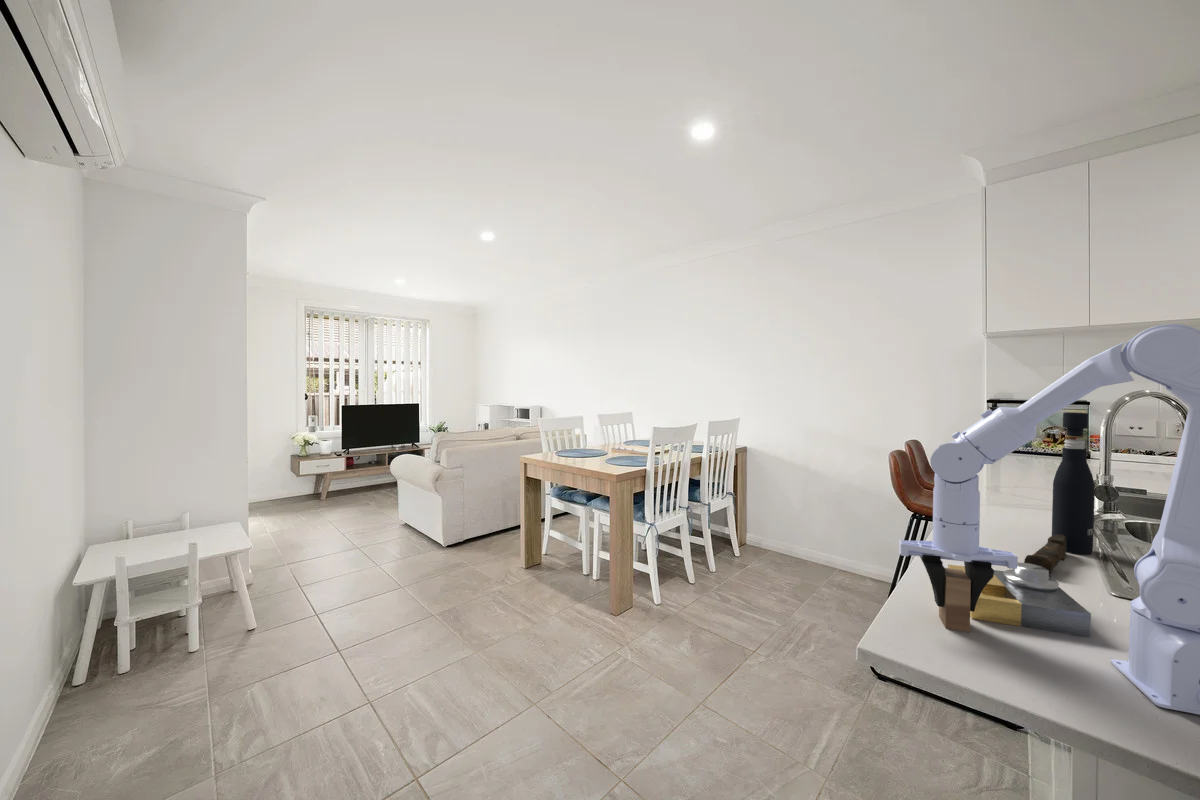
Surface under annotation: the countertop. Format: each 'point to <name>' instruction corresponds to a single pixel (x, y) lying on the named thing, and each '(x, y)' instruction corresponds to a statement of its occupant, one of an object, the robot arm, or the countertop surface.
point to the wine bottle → (1074, 490)
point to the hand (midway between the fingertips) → (954, 606)
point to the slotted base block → (1030, 601)
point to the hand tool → (1049, 553)
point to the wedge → (956, 600)
